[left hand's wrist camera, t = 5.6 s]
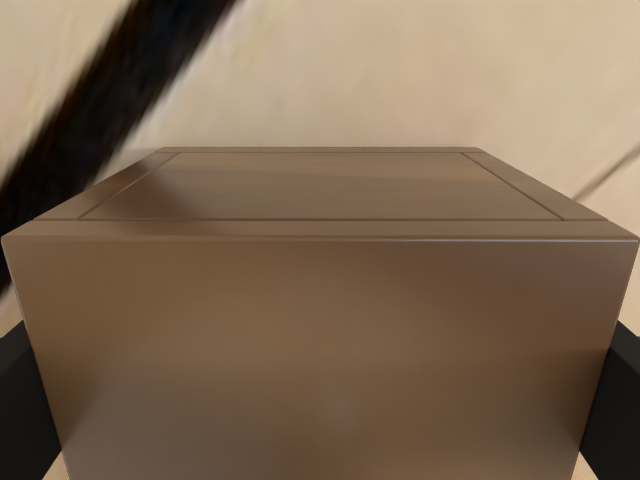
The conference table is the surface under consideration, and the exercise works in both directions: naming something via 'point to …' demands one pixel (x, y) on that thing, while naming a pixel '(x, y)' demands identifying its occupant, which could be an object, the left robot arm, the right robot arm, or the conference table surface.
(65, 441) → the cabinet
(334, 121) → the conference table surface
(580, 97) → the conference table surface
